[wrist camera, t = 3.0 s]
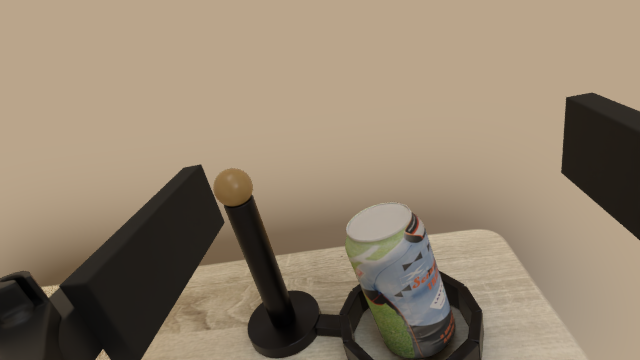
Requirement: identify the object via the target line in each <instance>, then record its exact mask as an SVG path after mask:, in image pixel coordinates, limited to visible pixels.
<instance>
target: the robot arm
mask: <svg viewBox="0 0 640 360" xmlns="http://www.w3.org/2000/svg"><path fill="white" fill-rule="evenodd" d="M565 110H566V111H565V124H564V140H563V155H562V170H561V173H562V174H564V175H565V176H566V177H567V178H568V179H569V180H571V181H572V182H573V183H574V184H575V185H576V186H577V187H579V188H580V189H581V190H582V191H583V192H584V193H586V194H587V195H588V196H589V197H590V198H591V199H593V200H594V201H595V202H596V203H597V204H598V205H600V206H601V207H602V208H603V209H604V210H605V211H606V212H608V213H609V214H610V215H611V216H612V217H613V218H615V219H616V220H617V221H618V222H619V223H620V224H622V225H623V226H624V227H625V228H626V229H627V230H629V231H630V232H631V233H632V234H633V235H634V236H635V237H637V238H638V239H639V240H640V111H637V110H635V109H632V108H630V107H627V106H625V105H622V104H620V103H617V102H615V101H612V100H610V99H607V98H605V97H602V96H600V95H597V94H595V93H588V94H582V95H577V96H571V97H567V98H566V109H565ZM223 224H224V219H223V217H222V215H221V212H220V210H219V207H218V205H217V202H216V200H215V197H214V195H213V193H212V190H211V188H210V185H209V183H208V180H207V178H206V175H205V173H204V170H203V168H202V166H201V165H197V166H191V167H185V168H183V169H182V170H181V171H180V172H179V173H178V174H177V175H176V176H175V177H174V178H172V179H171V180H170V181H169V182H168V183H167V184H166V185H165V186H164V187H163V188H162V189H161V190H160V191H159V192H158V193H157V194H156V195H154V196H153V197H152V198H151V199H150V200H149V201H148V202H147V203H146V204H145V205H144V206H143V207H142V208H141V209H140V210H139V211H138V212H137V213H136V214H135V215H134V216H132V217H131V218H130V219H129V220H128V221H127V222H126V223H125V224H124V225H123V226H122V227H121V228H120V229H119V230H118V231H117V232H116V233H115V234H114V235H112V236H111V237H110V238H109V239H108V240H107V241H106V242H105V243H104V244H103V245H102V246H101V247H100V248H99V249H98V250H97V251H96V252H95V253H93V254H92V255H91V256H90V257H89V258H88V259H87V260H86V261H85V262H84V263H83V264H82V265H81V266H80V267H79V268H78V269H77V270H76V271H75V272H73V273H72V274H71V275H70V276H69V277H68V278H67V279H66V280H65V281H64V282H63V283H62V284H61V285H60V286H59V287H60V288H59V289H58V290H57V291H55V292H54V293H53V294H52V295H51V296H50V297H49V298H48V297H47V295H46V294H45V293H44V291H43V290H42V289H41V287H40V286H39V284H38V283H37V282H36V280H35V279H34V278H33V276H32V275H31V274H30V272H27V271H20V272H16V273H13V274H10V275H7V276H4V277H2V278H0V360H95V359H96V358H97V356H98V355H99V354H100V352H101V351H102V350H103V349H104V351H105V352H106V354H107V355H108V356H109V358H110V359H111V360H141V359H142V357H143V355H144V354H145V352H146V350H147V349H148V347H149V345H150V344H151V342H152V341H153V339H154V337H155V336H156V334H157V332H158V331H159V329H160V327H161V326H162V324H163V323H164V321H165V319H166V318H167V316H168V314H169V313H170V311H171V309H172V308H173V306H174V304H175V303H176V301H177V300H178V298H179V296H180V295H181V293H182V291H183V290H184V288H185V286H186V285H187V283H188V282H189V280H190V278H191V277H192V275H193V273H194V272H195V270H196V268H197V267H198V265H199V263H200V262H201V260H202V259H203V257H204V255H205V254H206V252H207V250H208V248H209V247H210V245H211V244H212V242H213V240H214V239H215V237H216V236H217V234H218V232H219V231H220V229H221V227H222V226H223Z"/></svg>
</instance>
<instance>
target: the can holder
mask: <svg viewBox="0 0 640 360" xmlns="http://www.w3.org/2000/svg"><path fill="white" fill-rule="evenodd" d="M213 188H214V189H213V190H214V194H215V196H216V198H217V199H218V200H219V201H220V202H221V203H222V204H224V208H225V210H226V213H227V215H228V217H229V220H230V223H231V225H232V228H233V230H234V232H235V235H236V237H237V240H238V242H239V245H240V247H241V249H242V252H243V254H244V257H245V259H246V262H247V264H248V267H249V269H250V272H251V274H252V277H253V279H254V281H255V284H256V286H257V289H258V291H259V294H260V296H261V299H262V301H263V302H262V303H261V304H260V305H259V306H258V307H257V308H256V309H255V311H254V312H253V314H252V315H251V317H250V320H249V323H248V335H249V338H250V340H251V342H252V344H253V346H254V348H255V349H256V351H257V352H259V353H260V354H262V355H263V356H266V357H269V358H284V357H288V356H292V355H294V354H296V353H298V352H300V351H302V350H303V349H305V348H306V347H307V346H308V345H309V344H310V343H311V342H312V341H313V340H314V339H315V338H316V336H317V335H325V336H339V337H342V340H343V344H344V348H345V351H346V354H347V358H348V360H373V359H372V358H371V357H370V356H369V355H368V354H367V353H366V352H365V351H364V350H363V349H362V348H361V347H360V346H359V345H358V344H357V343H356V342H355V340H354V335H353V333H354V331H355V329H356V326H357V324H358V322H359V319H360V317H361V315H362V313H363V312H364V311H365V310H366V309H368V308H369V304H368V302H367V300H366V297H365V295H364V293H363V290H362V288H361V286H360V284H359V285H357V286H356V287H355V288H353V289H352V291H350V293H349V295H348V297H347V299H346V301H345V303H344V305H343V307H342V309H341V311H340V315H329V314H321V312H320V309H319V306H318V303H317V301H316V300H315V299H314V298H313V297H312V296H311V295H310V294H308V293H306V292H302V291H293V290H292V291H287V289H286V286H285V283H284V280H283V278H282V275H281V272H280V269H279V267H278V264H277V261H276V258H275V256H274V253H273V250H272V247H271V245H270V242H269V239H268V236H267V233H266V231H265V228H264V225H263V222H262V220H261V217H260V214H259V212H258V209H257V206H256V203H255V200H254V198H253V195H252V190H253V185H252V181H251V179H250V177H249V176H248V175H247V174H246V173H245V172H244V171H242V170H240V169H235V168H231V169H227V170H224V171H222V172H221V173H220V174H219V175H218V176H217V177H216V179H215V181H214V187H213ZM439 274H440V277H441V280H442V283H443V286H444V289H445V292H446V295H447V298H448V302H449V303H450V304H451V305H453V306H454V307H456V308H458V309H459V310H460V311H461V313H462V315H463V317H464V318H465V320H466V322H467V324H468V325H469V334H468V339H467V340H466V341H465V342H464V343H463V344H462V345H461V346H460V347H459V348H458V349H457V350H456V351H455V352H453V353H452V354H451V355H450V356H449V357H448V358H447V359H446V360H481V359H482V348H483V337H484V331H483V314H482V310H481V308H480V307H479V305H478V304H477V302H476V301H475V299H474V297H473V296H472V294H471V293H470V291H469V290H468V288H467V287H466V286H464V284H462V283H461V282H459V281H457V280H455V279H453V278H452V277H450V276H448V275H446V274H444V273H442V272H441V271H439Z"/></svg>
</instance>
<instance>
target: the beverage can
mask: <svg viewBox="0 0 640 360" xmlns="http://www.w3.org/2000/svg"><path fill="white" fill-rule="evenodd" d="M346 232H347V238H346V242H345V249H346V252H347V255H348V257H349V259H350V262H351V264H352V267H353V269H354V271H355V274H356V276H357V278H358V281H359V283H360V286H361V288H362V290H363V293H364V295H365V297H366V300H367V302H368V304H369V307H370V309H371V312H372V314H373V316H374V319H375V321H376V323H377V326H378V328H379V330H380V333H381V335H382V338H383V340H384V342H385V344H386V345H387V347H388V348H389V349H390V350H391V351H393V352H394V353H396V354H397V355H400V356H402V357H406V358H414V359H416V358H424V357H429V356H431V355H434V354H436V353H438V352H439V351H441V350H442V349H443V348H445V347H446V346H447V345H448V343H449V342H450V341H451V339H452V337H453V335H454V332H455V321H454V317H453V314H452V311H451V308H450V305H449V302H448V298H447V295H446V292H445V289H444V286H443V283H442V280H441V277H440V274H439V270H438V267H437V264H436V261H435V258H434V255H433V252H432V249H431V246H430V242H429V239H428V236H427V233H426V230H425V227H424V225H423V222H422V221H421V220H420V219H419V218H418V216H416V215H415V214H413V213H412V212H411V210H410V209H409V207H407V206H406V205H404V204H402V203H396V202H388V203H382V204H377V205H374V206H371V207H369V208H366V209H364V210H362V211H361V212H359V213H358V214H356V215H355V216H354V217H353V218H352V219H351V220H350V222H349V223H348V225H347V228H346Z"/></svg>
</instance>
